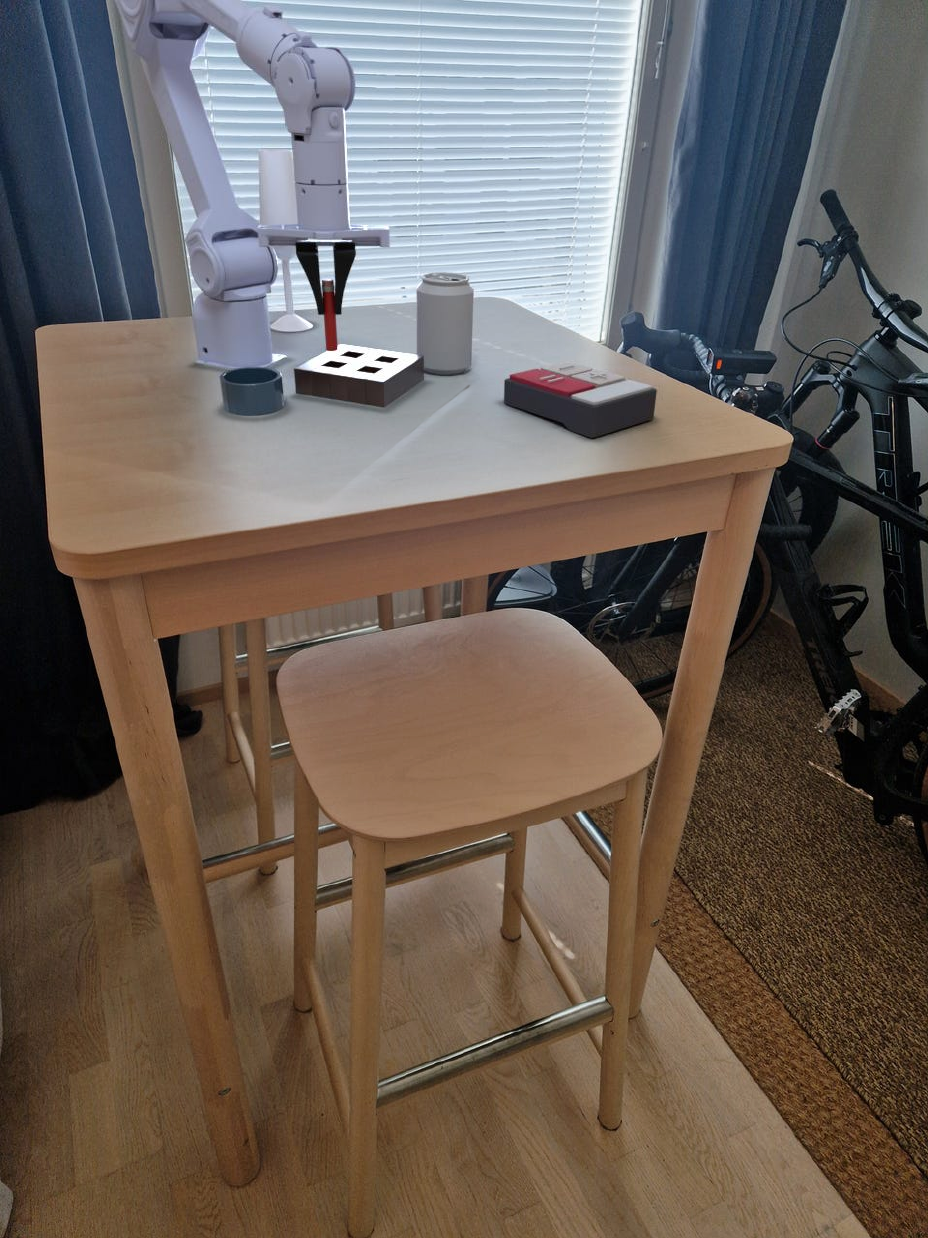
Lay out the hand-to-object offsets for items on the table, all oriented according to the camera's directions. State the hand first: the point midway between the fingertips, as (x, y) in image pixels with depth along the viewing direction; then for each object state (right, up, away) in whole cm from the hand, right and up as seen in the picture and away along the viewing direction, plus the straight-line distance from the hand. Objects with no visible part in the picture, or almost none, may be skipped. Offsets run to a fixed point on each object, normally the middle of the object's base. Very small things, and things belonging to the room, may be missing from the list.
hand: (329, 312), depth 94 cm
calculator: (+30, -11, +2) cm, 32 cm away
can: (+13, -2, +15) cm, 20 cm away
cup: (-9, -12, 0) cm, 15 cm away
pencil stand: (+3, -7, +7) cm, 10 cm away
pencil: (0, -4, +2) cm, 4 cm away
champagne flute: (-11, +10, +32) cm, 35 cm away
